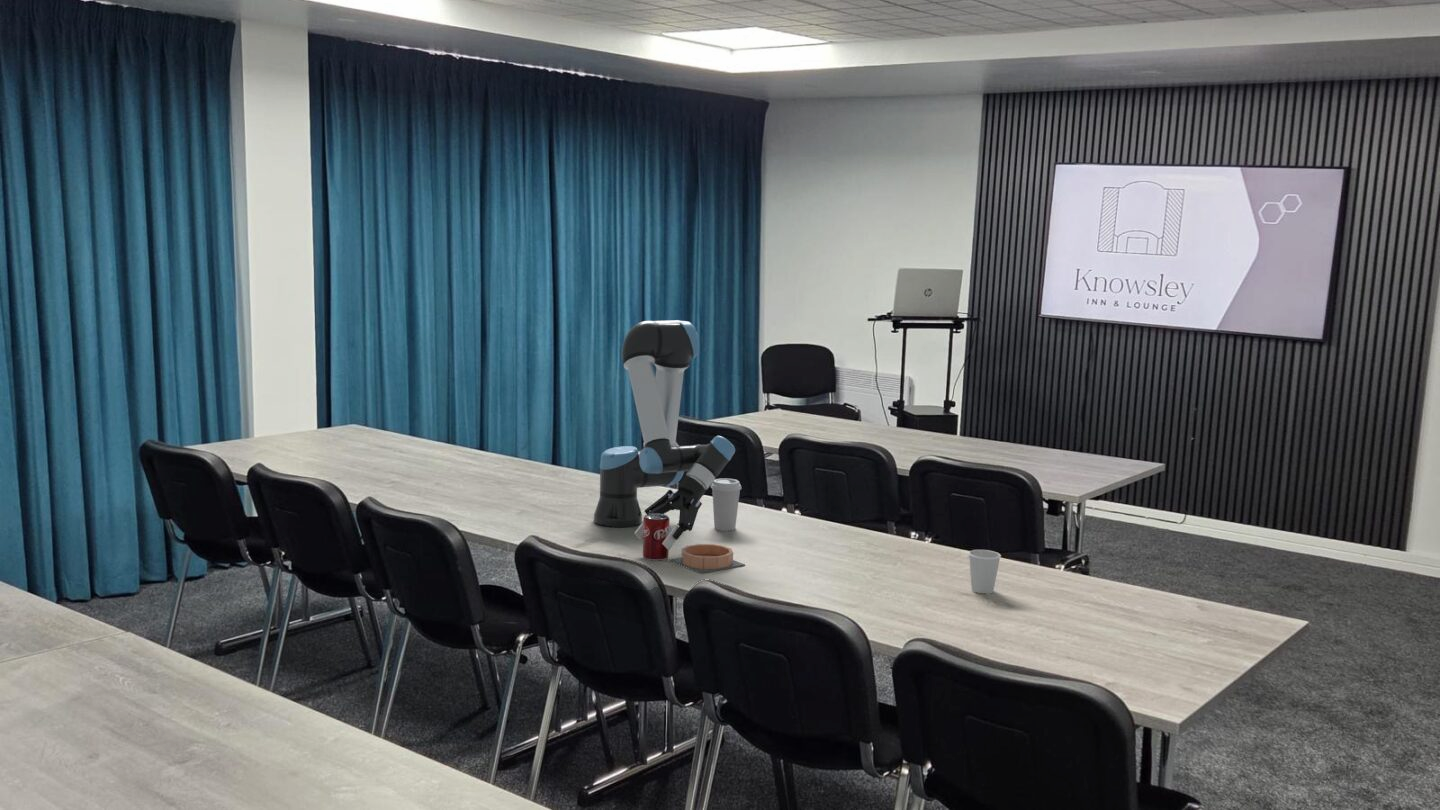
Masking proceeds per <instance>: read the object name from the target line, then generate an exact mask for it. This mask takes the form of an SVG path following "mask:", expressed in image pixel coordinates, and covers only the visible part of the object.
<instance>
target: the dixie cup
mask: <svg viewBox="0 0 1440 810" xmlns="http://www.w3.org/2000/svg"><path fill="white" fill-rule="evenodd" d="M968 557H969V570H970V571H969V574H970V585H971V586H970V587H971V588H970V589H972V590H971V591H972V592H973V591H974V593H976V592H978V593H977V594H980V593H986V594H985V595H989V594H990V593H991V594H993V593H994V590H995V586H996V580H997V575H998V571H999V570H998V569H999V564H1000V560H1001V559H1000V558H1002V554H1000V553H999V552H996V551H994V550H989V549H972V550H970V551H968Z"/></svg>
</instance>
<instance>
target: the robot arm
mask: <svg viewBox="0 0 1440 810" xmlns="http://www.w3.org/2000/svg"><path fill="white" fill-rule="evenodd" d="M699 351H700V339H699V335H698V332H697V329H696V327H695V326H694V325H693V323H691V322H690V321H688V320H687V321H686V320H679V319H676V320H643V321H640V322H638V323H635V325H634V326H632V327H631V328H630V329H629V331H628V332H627V334H626V335H625V338H624V340H623V343H622V348H621V360H622V364H623V368H624V369H625V370H627V371H628V376H629V380H630V385H631V390H632V395H633V398H634V403H635V408H636V412H637V416H638V421H639V427H640V431H641V436H642V440H643V444H642V449H641V450H638V448H637V447H636V446H633V445H632V446H631V445H625V446H623V445H622V446H616V447H611V448H608V449H605V450H604V451H602V453H601V455H600V463H599V468H600V469H599V498H598V502H597V505H596V508H595V511H594V513H593V522H594V523H595V524H596V523H597V525H599V524H600V525H599V526H603V525H605V526H604V527H609V526H612V527H613V528H629V527H633V526H634V525H635V526H638V525H639V526H638V528H636V530H635V532H634V535H635V536H636V537H637V538H638V539H639V540H643V514H642V511H641V507H640V503H639V501H638V489H639V488H652V487H653V488H654V487H668V486H673V485H676V484H677V483H678V484H677V490H676V491H675V492H674V491H673V490H672V489H668V490H667V492H665V494H663V495H662V496H661V497H660V498H658V499H657V500H655V502H653V503H652V504H651V505H649V506H648V507H647V508H646V509H645V510H644V514H645V515H647V514H665V515H666V513H668V512H670V511H674V510H675V511H679V517H678V519H679V520H678V523H676V525H674V527H673V528H672V529H671V531H669V535H668V536H667V537H666V539H665V540H664V541H663V543H662V544H663V545H664V546H665V547H666V548H667V549H668V550H669V551H670V549H671V548H672V547H673V545H674V544H675V543H676V541H677V540H679V539H680V538H681V536H682V535H683V533H684V532H686V531H689V532H691V531H692V530H693V528H694V524H695V522H696V520H697V519H696V518H697V516H698V513H699V510H700V508H701V507H702V505H703V503H702V501H700V500H701V499H702V497H703V496H704V494H705V493H706V490H708V489H709V488H710V487H711V485H712V483H713V481H714V480H715V479H717V477H718V476H719V475H720V474H721V472H722V471H723V469H725V467H726V466H727V464H728V463H729V462H730V461H731V459H732V457H733V456H734V454H735V452H736V448H735V445H734V444H733V443H732V442H731V441H729V440H728V439H727V438H725V437H724V436H721V435H716V436H714V437H713V438H712V440H710V442H709V443H706V444H691V445H679V444H678V442H677V432H678V424H679V416H680V407H681V399H682V390H683V381H684V375H685V374H684V373H685V370H687V369H688V368H689V367H690V364H691V360H694V359H695V358H696V357H697V356H698V355H699ZM654 366H655V369H654ZM685 472H686V473H685ZM684 473H685V475H684ZM683 475H684V476H683ZM641 522H642V523H641Z"/></svg>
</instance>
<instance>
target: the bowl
mask: <svg viewBox="0 0 1440 810" xmlns="http://www.w3.org/2000/svg"><path fill="white" fill-rule="evenodd" d="M680 553H681V554H680V555H681V556H680V557H675V558H671V559H668V561H669V560H670V561H669V562H671V561H672V562H671V563H673V562H675V563H674V564H676V563H677V564H676V565H678V564H680V565H679V566H681V565H682V566H681V567H683V566H685V567H684V568H686V567H687V569H688V568H689V569H688V570H691V569H692V570H691V571H693V570H694V571H693V572H696V571H697V572H696V573H698V572H699V574H702V573H703V574H708V573H713V572H719V571H724V570H730V569H735V568H740V567H744V566H746V564H745V563H742V562H740V561H737V560H735V559H734V551H733V549H732V548H731V547H727V546H726V545H722V544H720V545H719V544H712V543H696V544H690V545H685V547H683V548H681V551H680ZM703 574H702V575H703Z"/></svg>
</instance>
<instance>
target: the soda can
mask: <svg viewBox="0 0 1440 810" xmlns="http://www.w3.org/2000/svg"><path fill="white" fill-rule="evenodd" d="M642 522H643V538H642V558H644V559H645V560H646V559H647V561H650V560H655V561H654V562H659V561H658V560H662V561H665V560H667V559H668V558H669V556H670V555H669V553H670V552H669V551H670V549H669V550H668V549H667V548H666V547H665V546H664V545H663V544H662V543H663V541H664V540H665V539H666V537H667V536H668V535H669V534H670V516H668V515H667V514H666V513H665V514H645V515H644V517H642Z"/></svg>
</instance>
